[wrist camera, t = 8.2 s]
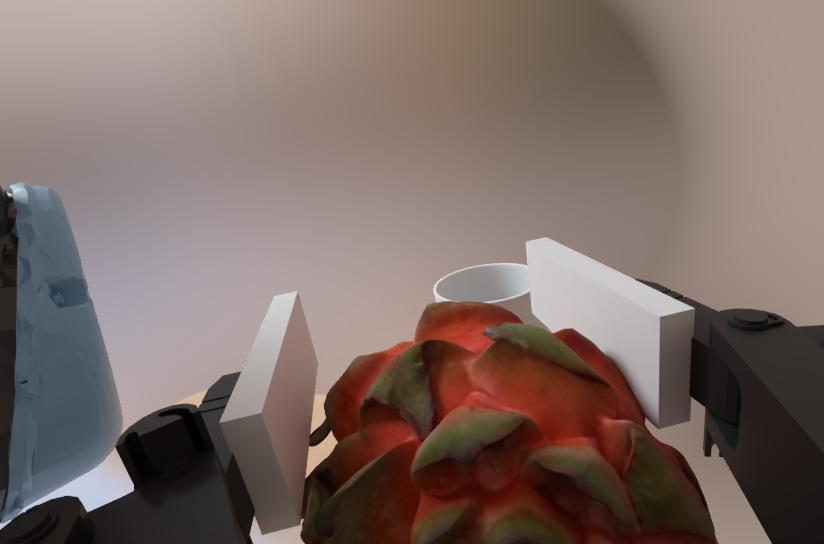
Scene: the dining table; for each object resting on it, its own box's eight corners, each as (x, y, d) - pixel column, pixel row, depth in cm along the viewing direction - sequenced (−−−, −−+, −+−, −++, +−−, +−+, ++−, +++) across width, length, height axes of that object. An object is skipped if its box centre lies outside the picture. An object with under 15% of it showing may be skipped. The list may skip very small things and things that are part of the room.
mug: (581, 444, 28) (568, 276, 25) (499, 493, 26) (472, 314, 22) (491, 380, 37) (472, 249, 34) (424, 411, 35) (395, 274, 31)
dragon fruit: (723, 1059, 6) (408, 532, 17) (936, 534, 8) (521, 357, 19) (209, 1128, 3) (226, 434, 14) (725, 239, 5) (378, 235, 16)
